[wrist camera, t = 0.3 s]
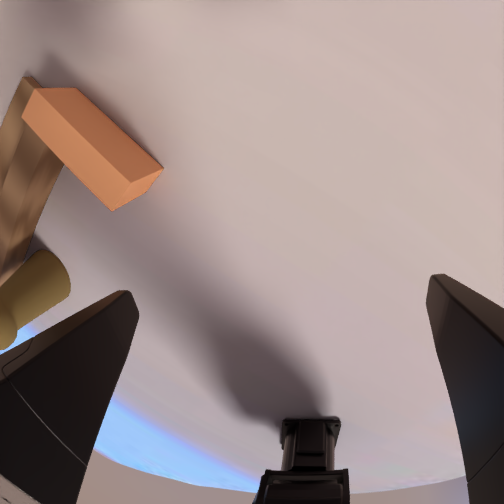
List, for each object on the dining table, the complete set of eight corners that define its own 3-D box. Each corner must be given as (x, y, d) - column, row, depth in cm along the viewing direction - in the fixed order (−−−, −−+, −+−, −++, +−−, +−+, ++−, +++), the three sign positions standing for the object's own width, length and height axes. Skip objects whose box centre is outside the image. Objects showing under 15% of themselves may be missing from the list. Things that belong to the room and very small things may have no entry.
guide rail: (64, 319, 31) (39, 345, 27) (-20, 223, 28) (-48, 238, 24) (163, 168, 23) (130, 183, 18) (42, 56, 20) (2, 55, 15)
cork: (59, 248, 27) (-18, 304, 17) (78, 301, 30) (14, 366, 20) (25, 250, 29) (-45, 300, 19) (43, 299, 31) (-17, 354, 21)
